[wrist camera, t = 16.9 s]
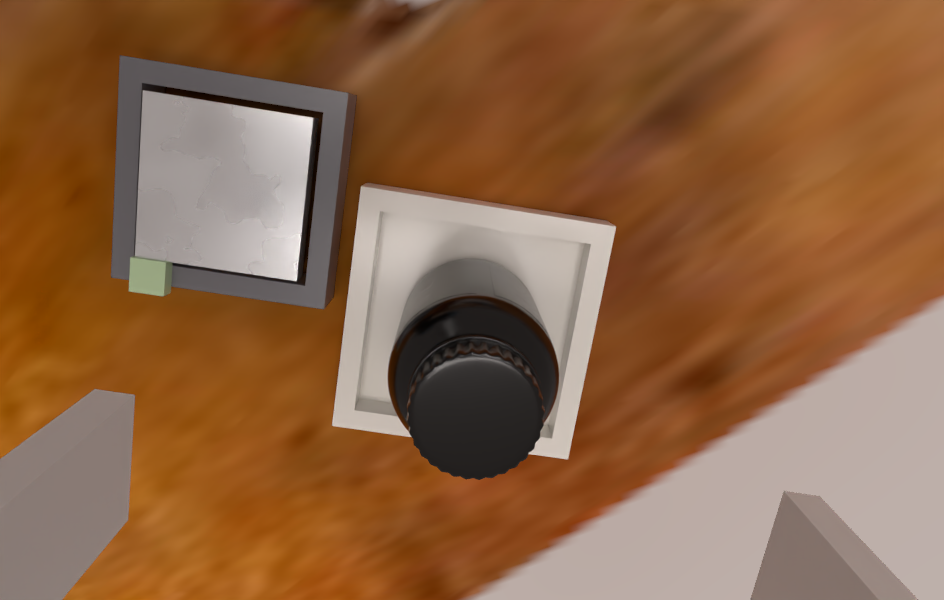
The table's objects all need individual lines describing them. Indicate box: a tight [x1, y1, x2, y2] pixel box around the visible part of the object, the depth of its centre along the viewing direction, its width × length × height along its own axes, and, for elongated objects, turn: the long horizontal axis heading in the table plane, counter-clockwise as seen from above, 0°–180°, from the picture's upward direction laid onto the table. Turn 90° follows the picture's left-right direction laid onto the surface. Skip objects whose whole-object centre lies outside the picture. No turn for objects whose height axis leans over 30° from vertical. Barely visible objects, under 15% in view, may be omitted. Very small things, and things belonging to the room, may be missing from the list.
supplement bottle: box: [387, 259, 559, 480], centre depth 30 cm, size 7×7×12 cm
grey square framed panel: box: [111, 55, 357, 309], centre depth 33 cm, size 10×10×3 cm
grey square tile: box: [135, 90, 319, 281], centre depth 32 cm, size 7×7×1 cm
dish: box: [332, 183, 616, 459], centre depth 35 cm, size 12×12×2 cm
